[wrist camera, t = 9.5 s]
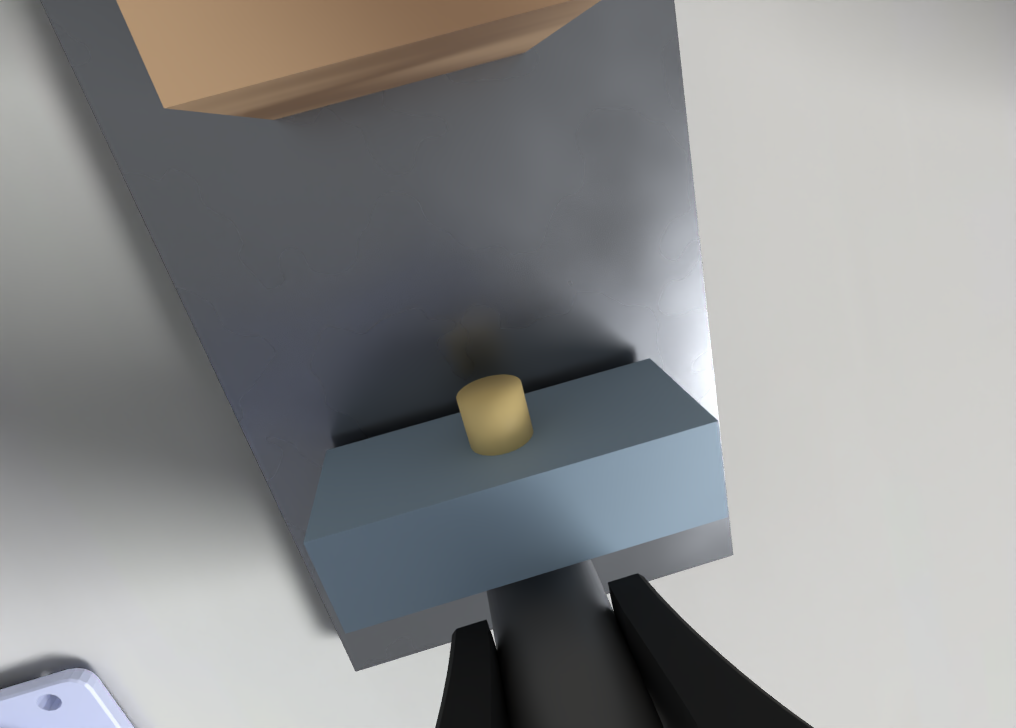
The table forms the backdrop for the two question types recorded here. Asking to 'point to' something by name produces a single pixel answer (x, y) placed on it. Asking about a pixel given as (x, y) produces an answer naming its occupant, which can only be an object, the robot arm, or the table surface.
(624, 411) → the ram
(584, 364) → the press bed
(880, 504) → the table surface
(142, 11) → the brown block
